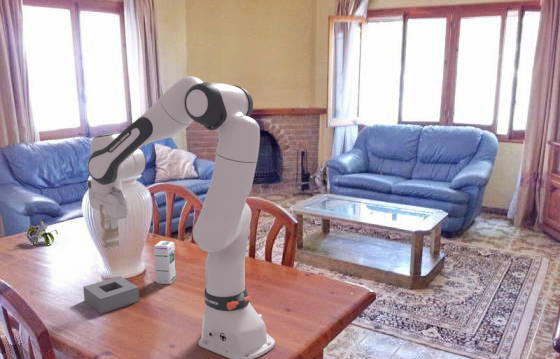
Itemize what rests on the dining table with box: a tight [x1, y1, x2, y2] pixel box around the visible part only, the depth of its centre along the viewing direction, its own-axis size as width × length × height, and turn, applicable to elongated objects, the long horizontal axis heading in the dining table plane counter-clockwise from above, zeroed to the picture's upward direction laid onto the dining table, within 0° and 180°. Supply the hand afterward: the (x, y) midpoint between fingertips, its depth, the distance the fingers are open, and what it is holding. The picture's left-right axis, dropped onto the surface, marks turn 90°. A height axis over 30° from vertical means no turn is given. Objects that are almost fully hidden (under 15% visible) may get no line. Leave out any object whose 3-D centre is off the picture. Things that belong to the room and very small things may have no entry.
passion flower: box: [25, 220, 59, 245], centre depth 221 cm, size 11×11×12 cm
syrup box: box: [153, 240, 178, 285], centre depth 179 cm, size 6×6×14 cm
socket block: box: [83, 275, 140, 315], centre depth 164 cm, size 13×13×5 cm
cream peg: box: [99, 204, 120, 250], centre depth 159 cm, size 4×4×14 cm
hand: (109, 226), depth 159 cm, fingers closed on cream peg, 4 cm apart
